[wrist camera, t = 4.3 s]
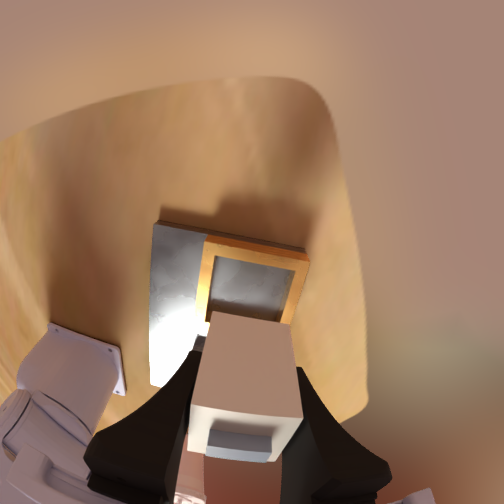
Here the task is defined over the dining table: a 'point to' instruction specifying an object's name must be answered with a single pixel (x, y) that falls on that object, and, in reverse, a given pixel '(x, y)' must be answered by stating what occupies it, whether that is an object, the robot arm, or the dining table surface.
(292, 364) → the plug
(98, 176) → the dining table surface
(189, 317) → the panel
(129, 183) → the dining table surface
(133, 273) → the dining table surface
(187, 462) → the smoothie
